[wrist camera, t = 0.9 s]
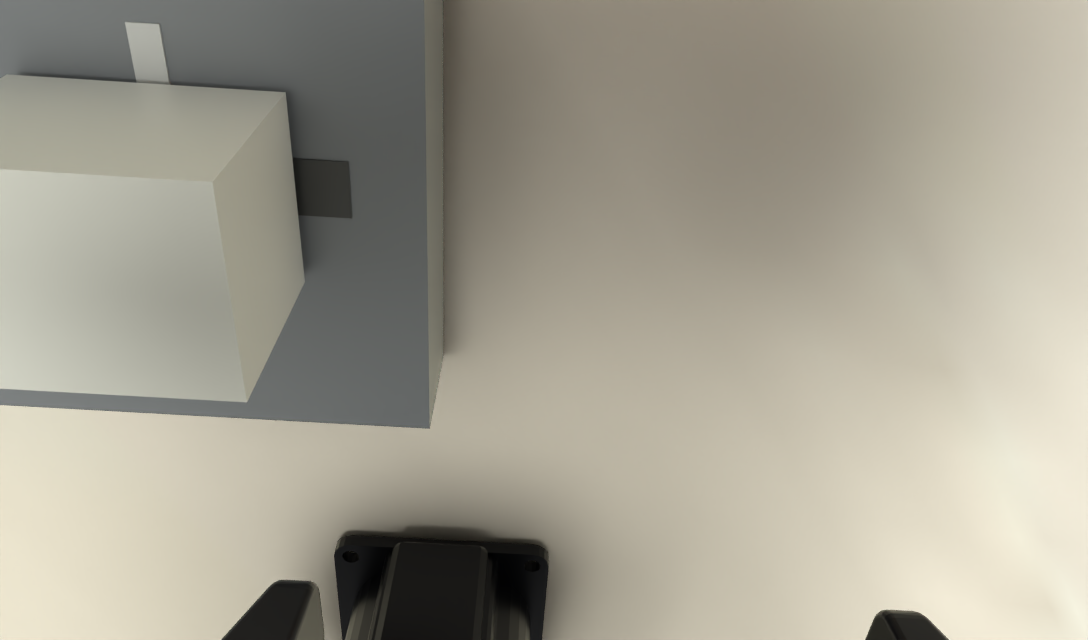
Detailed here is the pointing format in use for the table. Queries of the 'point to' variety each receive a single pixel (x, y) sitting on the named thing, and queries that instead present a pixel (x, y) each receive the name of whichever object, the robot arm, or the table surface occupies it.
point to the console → (298, 180)
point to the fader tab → (144, 237)
